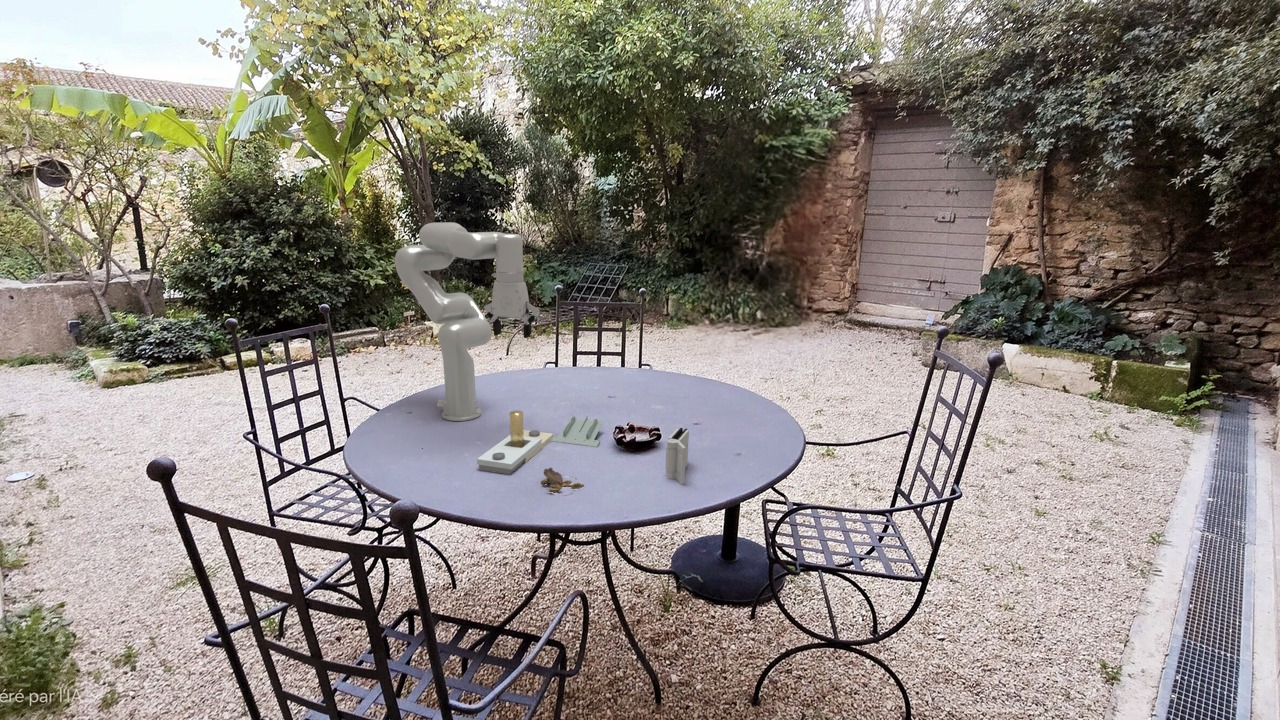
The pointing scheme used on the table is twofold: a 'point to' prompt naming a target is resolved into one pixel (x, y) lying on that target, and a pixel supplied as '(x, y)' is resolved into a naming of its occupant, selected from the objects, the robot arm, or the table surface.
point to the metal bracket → (579, 432)
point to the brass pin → (516, 429)
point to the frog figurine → (558, 481)
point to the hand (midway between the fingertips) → (512, 335)
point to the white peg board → (513, 452)
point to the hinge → (677, 454)
